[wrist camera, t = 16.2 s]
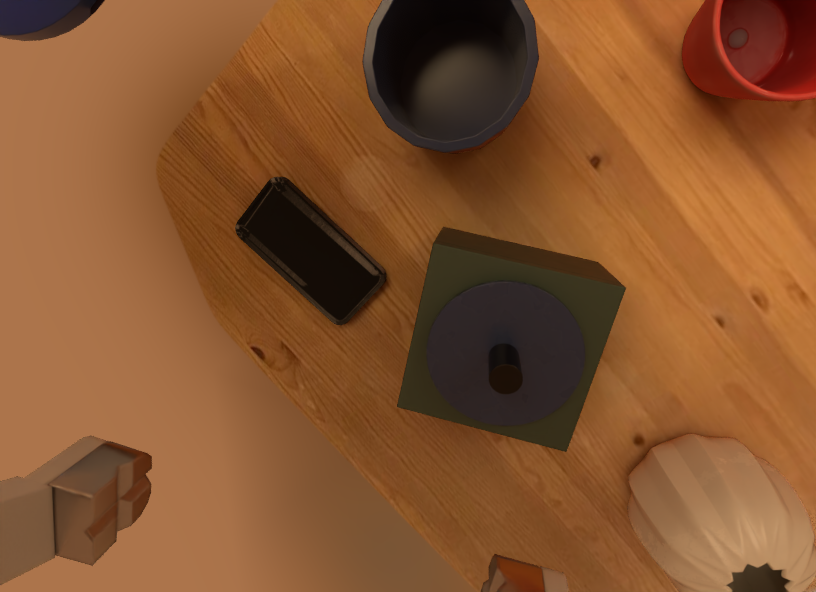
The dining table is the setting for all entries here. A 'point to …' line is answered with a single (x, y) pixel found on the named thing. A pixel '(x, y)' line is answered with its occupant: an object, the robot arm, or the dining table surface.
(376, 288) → the phone
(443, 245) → the green open box
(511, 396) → the lid
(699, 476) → the vase
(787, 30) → the flower pot
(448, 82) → the pot
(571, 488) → the dining table surface
